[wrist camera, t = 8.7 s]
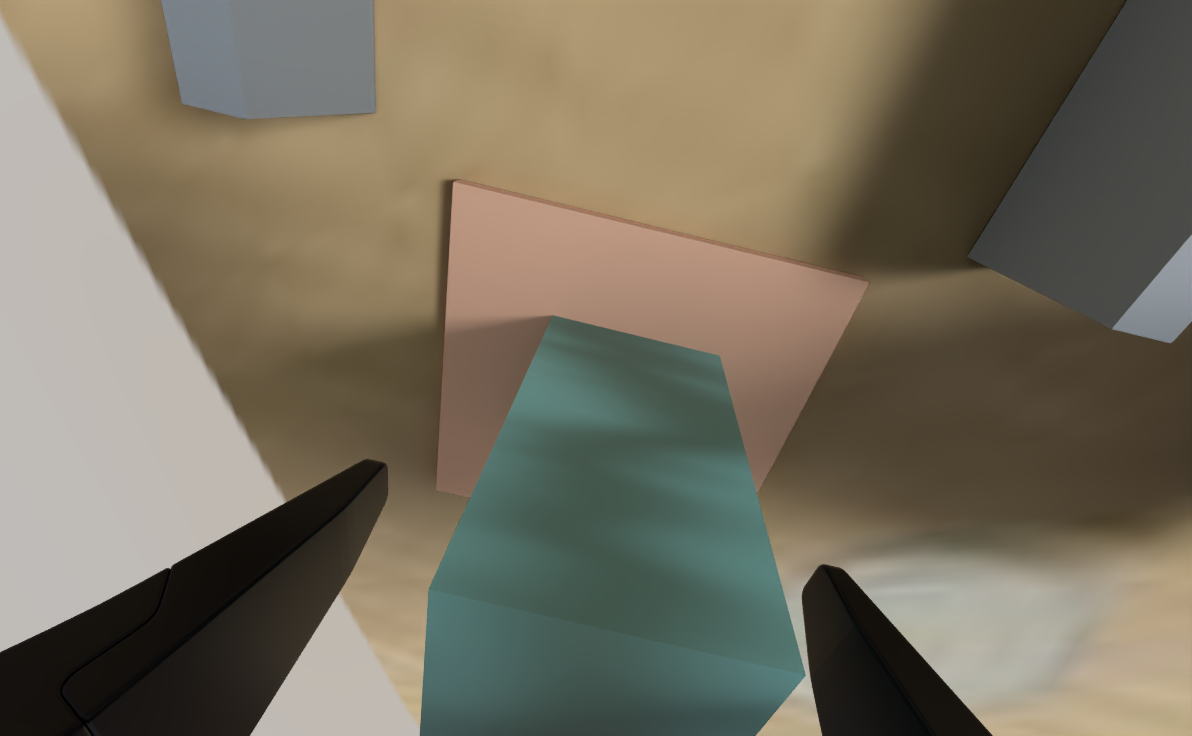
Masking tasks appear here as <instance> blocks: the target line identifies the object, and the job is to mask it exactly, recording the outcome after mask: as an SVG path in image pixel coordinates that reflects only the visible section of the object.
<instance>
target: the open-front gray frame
mask: <svg viewBox="0 0 1192 736" xmlns="http://www.w3.org/2000/svg"><path fill="white" fill-rule="evenodd" d="M161 3H162V8H163V13H164V17H165V22H166V27H167V32H168V37H169V42H170V47H171V52H172V57H173V62H174V67H175V72H176V77H177V82H178V87H179V91H180V96H181V101H182V104H185V105H189V106H193V107H197V108H201V109H206V110H210V111H214V112H218V113H222V114H226V115H230V116H234V117H239V118H243V119H262V118H282V117H301V116H321V115H341V114H360V113H376V100H375V53H374V5H373V0H161ZM967 257H968V258H970V259H972V260H974V261H976V262H978V263H980V264H982V265H984V266H986V267H988V268H990V269H992V270H994V271H996V272H998V273H1000V274H1002V275H1004V276H1006V277H1008V278H1010V279H1012V280H1014V281H1016V282H1018V283H1020V284H1022V285H1025V286H1027V287H1029V288H1031V289H1033V290H1035V291H1037V292H1039V293H1041V294H1043V295H1045V296H1047V297H1049V298H1051V299H1053V300H1055V301H1057V302H1059V303H1061V304H1063V305H1065V306H1067V307H1069V308H1071V309H1073V310H1075V311H1077V312H1079V313H1081V314H1083V315H1085V316H1087V317H1089V318H1091V319H1093V320H1095V321H1097V322H1099V323H1101V324H1103V325H1105V326H1107V327H1109V328H1111V329H1114V330H1118V331H1122V332H1126V333H1130V334H1134V335H1138V336H1142V337H1147V338H1151V339H1155V340H1159V341H1163V342H1167V343H1172V342H1173V341H1174V340H1175V339H1176V338H1177V337H1178V336H1179V335H1180V334H1181V332H1182V331H1183V330H1184V329H1185V328H1186V327H1187V326H1188V325H1189V324H1190V323H1191V322H1192V0H1127V1H1126V3H1125V5H1124V6H1123V8H1122V9H1121V11H1120V13H1119V14H1118V16H1117V17H1116V19H1115V21H1114V22H1113V24H1112V25H1111V27H1110V29H1109V30H1108V32H1107V34H1106V35H1105V37H1104V38H1103V40H1102V42H1101V43H1100V45H1099V46H1098V48H1097V50H1096V51H1095V53H1094V54H1093V56H1092V58H1091V59H1090V61H1089V62H1088V64H1087V66H1086V67H1085V69H1084V70H1083V72H1082V74H1081V75H1080V77H1079V78H1078V80H1077V82H1076V83H1075V85H1074V86H1073V88H1072V90H1071V91H1070V93H1069V94H1068V96H1067V98H1066V99H1065V101H1064V102H1063V104H1062V106H1061V107H1060V109H1059V111H1058V112H1057V114H1056V115H1055V117H1054V119H1053V120H1052V122H1051V123H1050V125H1049V127H1048V128H1047V130H1046V131H1045V133H1044V135H1043V136H1042V138H1041V139H1040V141H1039V143H1038V144H1037V146H1036V147H1035V149H1034V151H1033V152H1032V154H1031V155H1030V157H1029V159H1028V160H1027V162H1026V163H1025V165H1024V167H1023V168H1022V170H1021V171H1020V173H1019V175H1018V176H1017V178H1016V179H1015V181H1014V183H1013V184H1012V186H1011V187H1010V189H1009V191H1008V192H1007V194H1006V196H1005V197H1004V199H1003V200H1002V202H1001V204H1000V205H999V207H998V208H997V210H996V212H995V213H994V215H993V216H992V218H991V220H990V221H989V223H988V224H987V226H986V228H985V229H984V231H983V232H982V234H981V236H980V237H979V239H978V240H977V242H976V244H975V245H974V247H973V248H972V250H971V252H970V253H969V255H968V256H967Z"/></svg>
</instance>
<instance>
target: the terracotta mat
mask: <svg viewBox="0 0 1192 736" xmlns="http://www.w3.org/2000/svg"><path fill="white" fill-rule="evenodd" d="M869 283H870V282H869V281H867V280H866V279H865V278H864V277H861V276H857V275H852V274H848V273H844V272H840V271H836V270H832V269H828V268H824V267H819V266H815V265H811V264H807V263H803V262H799V261H795V260H790V259H786V258H782V257H778V256H774V255H770V254H766V253H762V252H757V251H753V250H749V249H745V248H741V247H737V246H733V245H728V244H724V243H720V242H716V241H712V240H708V239H704V238H700V237H695V236H691V235H687V234H683V233H679V232H675V231H671V230H666V229H662V228H658V227H654V226H650V225H646V224H642V223H638V222H633V221H629V220H625V219H621V218H617V217H613V216H609V215H604V214H600V213H596V212H592V211H588V210H584V209H580V208H576V207H571V206H567V205H563V204H559V203H555V202H551V201H547V200H542V199H538V198H534V197H530V196H526V195H522V194H518V193H514V192H509V191H505V190H501V189H497V188H493V187H489V186H485V185H480V184H476V183H472V182H468V181H464V180H460V179H459V180H456V181H454V182H453V192H452V210H451V228H450V246H449V264H448V282H447V300H446V318H445V336H444V354H443V372H442V390H441V408H440V426H439V444H438V462H437V480H436V491H441V492H445V493H449V494H454V495H458V496H462V497H467V498H470V497H471V495H472V492H473V490H474V488H475V486H476V484H477V481H478V479H479V477H480V475H481V473H482V470H483V468H484V466H485V464H486V461H487V459H488V457H489V455H490V453H491V450H492V448H493V446H494V444H495V442H496V439H497V437H498V435H499V433H500V431H501V428H502V426H503V424H504V422H505V420H506V417H507V415H508V413H509V411H510V408H511V406H512V404H513V402H514V400H515V397H516V395H517V393H518V391H519V389H520V386H521V384H522V382H523V380H524V378H525V375H526V373H527V371H528V369H529V367H530V364H531V362H532V360H533V358H534V355H535V353H536V351H537V349H538V347H539V344H540V342H541V340H542V338H543V336H544V333H545V331H546V329H547V327H548V325H549V322H550V320H551V318H552V316H553V315H554V316H558V317H562V318H566V319H571V320H575V321H579V322H583V323H587V324H591V325H595V326H599V327H604V328H608V329H612V330H616V331H620V332H624V333H628V334H632V335H637V336H641V337H645V338H649V339H653V340H657V341H661V342H665V343H670V344H674V345H678V346H682V347H686V348H690V349H694V350H699V351H703V352H707V353H711V354H715V355H719V356H720V358H721V362H722V366H723V370H724V373H725V377H726V381H727V384H728V388H729V392H730V396H731V399H732V403H733V407H734V410H735V414H736V418H737V422H738V425H739V429H740V433H741V437H742V440H743V444H744V448H745V451H746V455H747V459H748V463H749V466H750V470H751V474H752V477H753V481H754V485H755V489H756V492H757V494H758V492H759V490H760V488H761V486H762V485H763V483H764V481H765V479H766V477H767V475H768V473H769V471H770V470H771V468H772V466H773V464H774V462H775V460H776V458H777V456H778V455H779V453H780V451H781V449H782V447H783V445H784V443H785V441H786V439H787V438H788V436H789V434H790V432H791V430H792V428H793V426H794V424H795V423H796V421H797V419H798V417H799V415H800V413H801V411H802V409H803V408H804V406H805V404H806V402H807V400H808V398H809V396H810V394H811V392H812V391H813V389H814V387H815V385H816V383H817V381H818V379H819V377H820V376H821V374H822V372H823V370H824V368H825V366H826V364H827V362H828V361H829V359H830V357H831V355H832V353H833V351H834V349H835V347H836V345H837V344H838V342H839V340H840V338H841V336H842V334H843V332H844V330H845V329H846V327H847V325H848V323H849V321H850V319H851V317H852V315H853V313H854V312H855V310H856V308H857V306H858V304H859V302H860V300H861V298H862V297H863V295H864V293H865V291H866V289H867V287H868V285H869Z"/></svg>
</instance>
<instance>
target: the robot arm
mask: <svg viewBox="0 0 1192 736" xmlns="http://www.w3.org/2000/svg"><path fill="white" fill-rule="evenodd" d="M387 496H388V467H387V465H386V464H385V463H384V462H379V461H375V460H371V459H366V460H363V461H361V462H359V463H357V464H355V465H353V466H352V467H350V468H348V469H346V470H344V471H342V472H341V473H339V474H337V475H335V476H333V477H332V478H330V479H328V480H326V481H324V482H323V483H321V484H319V485H317V486H315V487H313V488H312V489H310V490H308V491H306V492H304V493H303V494H301V495H299V496H297V497H295V498H293V499H292V500H290V501H288V502H286V503H284V504H283V505H281V506H279V507H277V508H276V509H274V510H272V511H270V512H268V513H266V514H264V515H263V516H261V517H259V518H257V519H255V520H254V521H252V522H250V523H248V524H246V525H244V526H243V527H241V528H239V529H237V530H235V531H234V532H232V533H230V534H228V535H226V536H224V537H223V538H221V539H219V540H217V541H215V542H214V543H212V544H210V545H208V546H206V547H204V548H203V549H201V550H199V551H197V552H196V553H194V554H192V555H190V556H188V557H186V558H185V559H183V560H181V561H179V562H177V563H176V564H174V565H173V566H172V567H171V569H169V568H166V569H164V570H163V571H161V572H159V573H157V574H155V575H153V576H152V577H150V578H148V579H146V580H144V581H143V582H141V583H139V584H137V585H135V586H133V587H131V588H129V589H127V590H125V591H124V592H122V593H120V594H118V595H116V596H114V597H112V598H111V599H109V600H107V601H105V602H103V603H101V604H100V605H97V606H95V607H93V608H91V609H89V610H87V611H85V612H83V613H81V614H79V615H77V616H75V617H73V618H71V619H69V620H66V621H64V622H62V623H61V624H58V625H56V626H55V627H52V628H50V629H48V630H46V631H44V632H42V633H40V634H38V635H35V636H33V637H32V638H29V639H27V640H25V641H23V642H21V643H19V644H17V645H14V646H12V647H10V648H8V649H6V650H4V651H2V652H0V736H250V734H251V733H252V731H253V730H254V728H255V727H256V725H257V723H258V722H259V720H260V719H261V717H262V715H263V714H264V712H265V711H266V709H267V707H268V706H269V704H270V703H271V701H272V699H273V698H274V696H275V695H276V693H277V691H278V690H279V688H280V686H281V685H282V683H283V682H284V680H285V679H286V677H287V675H288V674H289V672H290V671H291V669H292V667H293V666H294V664H295V663H296V661H297V659H298V658H299V656H300V655H301V653H302V651H303V650H304V648H305V647H306V645H307V643H308V642H309V640H310V639H311V637H312V635H313V634H314V632H315V630H316V629H317V627H318V626H319V624H320V623H321V621H322V619H323V618H324V616H325V614H326V613H327V611H328V609H329V608H330V607H331V605H332V603H333V602H334V600H335V599H336V597H337V595H338V594H339V592H340V591H341V589H342V587H343V586H344V584H345V582H346V581H347V579H348V577H349V576H350V574H351V572H352V570H353V568H354V566H355V564H356V562H357V560H358V558H359V556H360V554H361V552H362V550H363V548H364V546H365V544H366V542H367V540H368V538H369V536H370V534H371V531H372V529H373V527H374V525H375V523H376V521H377V519H378V517H379V515H380V513H381V511H382V509H383V507H384V505H385V502H386V500H387ZM802 606H803V615H804V625H805V634H806V644H807V653H808V662H809V670H810V677H811V683H812V688H813V693H814V698H815V703H816V708H817V713H818V717H819V722H820V727H821V732H822V736H992V734H991V733H990V732H989V731H988V730H987V729H986V728H985V727H984V725H983V724H982V723H981V722H980V721H979V720H978V719H977V718H976V717H975V715H974V714H973V713H972V712H971V711H970V710H969V709H968V708H967V706H966V705H965V704H964V703H963V702H962V701H961V700H960V699H959V698H958V696H957V695H956V694H955V693H954V692H953V691H952V690H951V689H950V688H949V686H948V685H947V684H946V683H945V682H944V681H943V680H942V679H941V677H940V676H939V675H938V674H937V673H936V672H935V671H934V670H933V669H932V667H931V666H930V665H929V664H928V663H927V662H926V661H925V660H924V659H923V657H922V656H921V655H920V654H919V653H918V652H917V651H916V650H915V648H914V647H913V646H912V645H911V644H910V643H909V642H908V641H907V640H906V638H905V637H904V636H903V635H902V634H901V633H900V632H899V631H898V629H897V628H896V627H895V626H894V625H893V624H892V623H891V622H890V621H889V619H888V618H887V617H886V616H885V615H884V614H883V613H882V612H881V611H880V609H879V608H878V607H877V606H876V605H875V604H874V603H873V602H872V600H871V599H870V598H869V597H868V596H867V595H866V594H865V593H864V592H863V590H862V589H861V588H860V587H859V586H858V585H857V584H856V583H855V581H854V580H853V579H852V578H851V577H850V576H849V575H848V574H847V573H846V572H845V571H844V570H843V569H841V568H839V567H834V566H830V565H826V564H822V565H820V566H819V567H818V568H817V569H816V571H815V572H814V574H813V575H812V576H811V578H810V579H809V581H808V582H807V584H806V585H805V587H804V589H803V592H802Z"/></svg>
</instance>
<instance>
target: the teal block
mask: <svg viewBox="0 0 1192 736" xmlns="http://www.w3.org/2000/svg"><path fill="white" fill-rule="evenodd" d="M805 676H806V675H805V671H804V667H803V664H802V660H801V656H800V652H799V649H798V645H797V641H796V638H795V634H794V630H793V626H792V623H791V619H790V615H789V611H788V608H787V604H786V600H785V597H784V593H783V589H782V585H781V582H780V578H779V574H778V571H777V567H776V563H775V559H774V556H773V552H772V548H771V544H770V541H769V537H768V533H767V530H766V526H765V522H764V518H763V515H762V511H761V507H760V504H759V500H758V496H757V492H756V489H755V485H754V481H753V477H752V474H751V470H750V466H749V463H748V459H747V455H746V451H745V448H744V444H743V440H742V437H741V433H740V429H739V425H738V422H737V418H736V414H735V410H734V407H733V403H732V399H731V396H730V392H729V388H728V384H727V381H726V377H725V373H724V370H723V366H722V362H721V358H720V356H719V355H715V354H711V353H707V352H703V351H699V350H694V349H690V348H686V347H682V346H678V345H674V344H670V343H665V342H661V341H657V340H653V339H649V338H645V337H641V336H637V335H632V334H628V333H624V332H620V331H616V330H612V329H608V328H604V327H599V326H595V325H591V324H587V323H583V322H579V321H575V320H571V319H566V318H562V317H558V316H554V315H553V316H552V318H551V320H550V322H549V325H548V327H547V329H546V331H545V333H544V336H543V338H542V340H541V342H540V344H539V347H538V349H537V351H536V353H535V355H534V358H533V360H532V362H531V364H530V367H529V369H528V371H527V373H526V375H525V378H524V380H523V382H522V384H521V386H520V389H519V391H518V393H517V395H516V397H515V400H514V402H513V404H512V406H511V408H510V411H509V413H508V415H507V417H506V420H505V422H504V424H503V426H502V428H501V431H500V433H499V435H498V437H497V439H496V442H495V444H494V446H493V448H492V450H491V453H490V455H489V457H488V459H487V461H486V464H485V466H484V468H483V470H482V473H481V475H480V477H479V479H478V481H477V484H476V486H475V488H474V490H473V492H472V495H471V497H470V499H469V501H468V503H467V506H466V508H465V510H464V512H463V515H462V517H461V519H460V521H459V523H458V526H457V528H456V530H455V532H454V534H453V537H452V539H451V541H450V543H449V545H448V548H447V550H446V552H445V554H444V556H443V559H442V561H441V563H440V565H439V568H438V570H437V572H436V574H435V576H434V579H433V581H432V583H431V585H430V587H429V592H428V609H427V625H426V642H425V658H424V675H423V691H422V708H421V724H420V736H756V734H757V733H758V732H759V731H760V730H761V728H762V727H763V726H764V725H765V724H766V722H767V721H768V720H769V719H770V718H771V716H772V715H773V714H774V713H775V712H776V710H777V709H778V708H779V707H780V706H781V704H782V703H783V702H784V701H785V700H786V698H787V697H788V696H789V695H790V694H791V693H792V691H793V690H794V689H795V688H796V687H797V685H798V684H799V683H800V682H801V681H802V679H803V678H804V677H805Z"/></svg>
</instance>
